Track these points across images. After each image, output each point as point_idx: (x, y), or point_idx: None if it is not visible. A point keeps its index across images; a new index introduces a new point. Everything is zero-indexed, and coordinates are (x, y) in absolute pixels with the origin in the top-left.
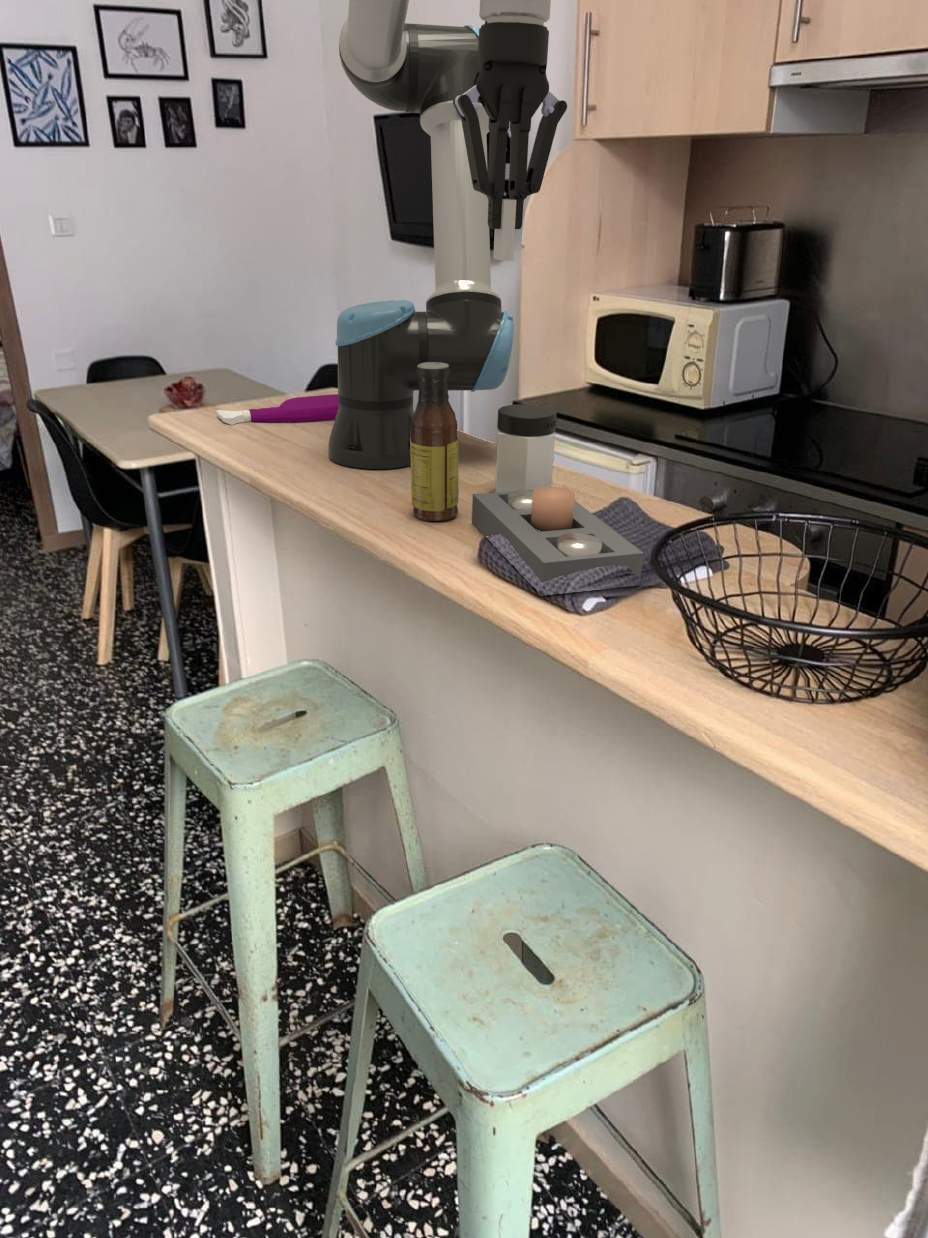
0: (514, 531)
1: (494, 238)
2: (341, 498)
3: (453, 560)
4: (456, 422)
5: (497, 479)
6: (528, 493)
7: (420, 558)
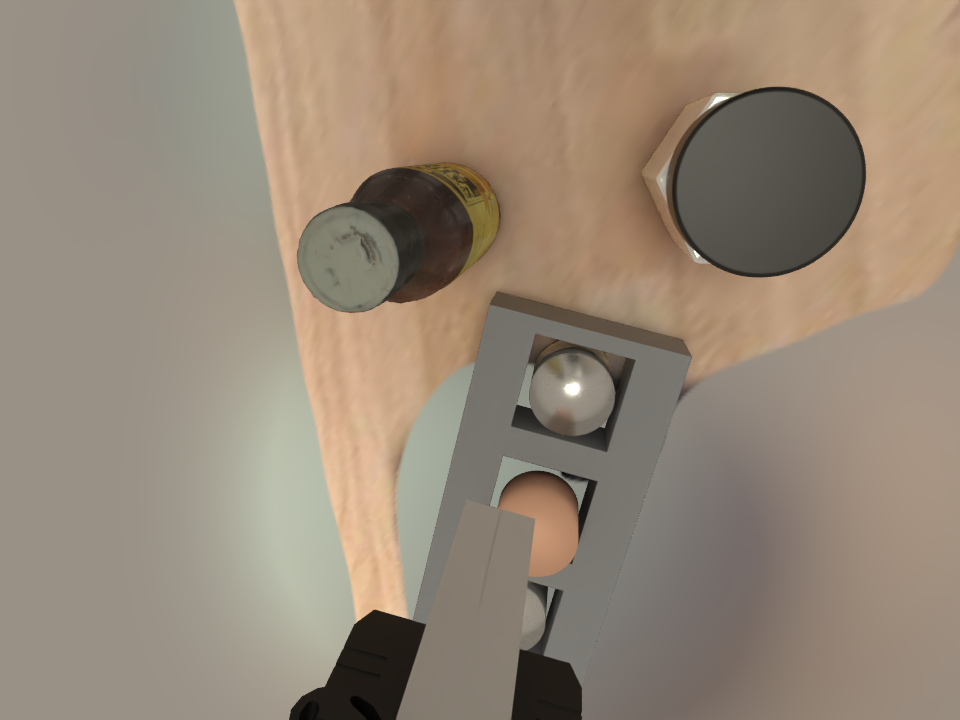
0: (443, 518)
1: (448, 557)
2: (314, 7)
3: (370, 431)
4: (444, 283)
5: (645, 177)
6: (588, 378)
7: (323, 397)
